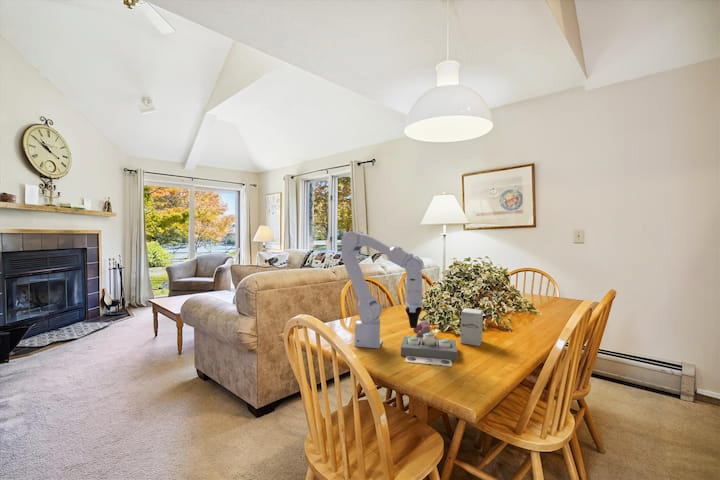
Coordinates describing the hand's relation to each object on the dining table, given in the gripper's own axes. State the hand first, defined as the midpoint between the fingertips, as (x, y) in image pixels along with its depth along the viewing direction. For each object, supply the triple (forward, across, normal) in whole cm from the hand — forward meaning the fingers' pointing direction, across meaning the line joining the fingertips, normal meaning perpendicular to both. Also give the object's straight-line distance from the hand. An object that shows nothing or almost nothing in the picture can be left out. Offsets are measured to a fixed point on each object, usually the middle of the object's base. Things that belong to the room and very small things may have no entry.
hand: (413, 327), depth 120 cm
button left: (+8, 0, 0) cm, 8 cm away
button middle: (+6, 0, -6) cm, 8 cm away
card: (+8, -9, -6) cm, 14 cm away
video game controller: (+9, +19, -2) cm, 21 cm away
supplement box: (+8, +14, -22) cm, 27 cm away
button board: (+8, 0, -6) cm, 10 cm away
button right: (+8, 0, -11) cm, 14 cm away
